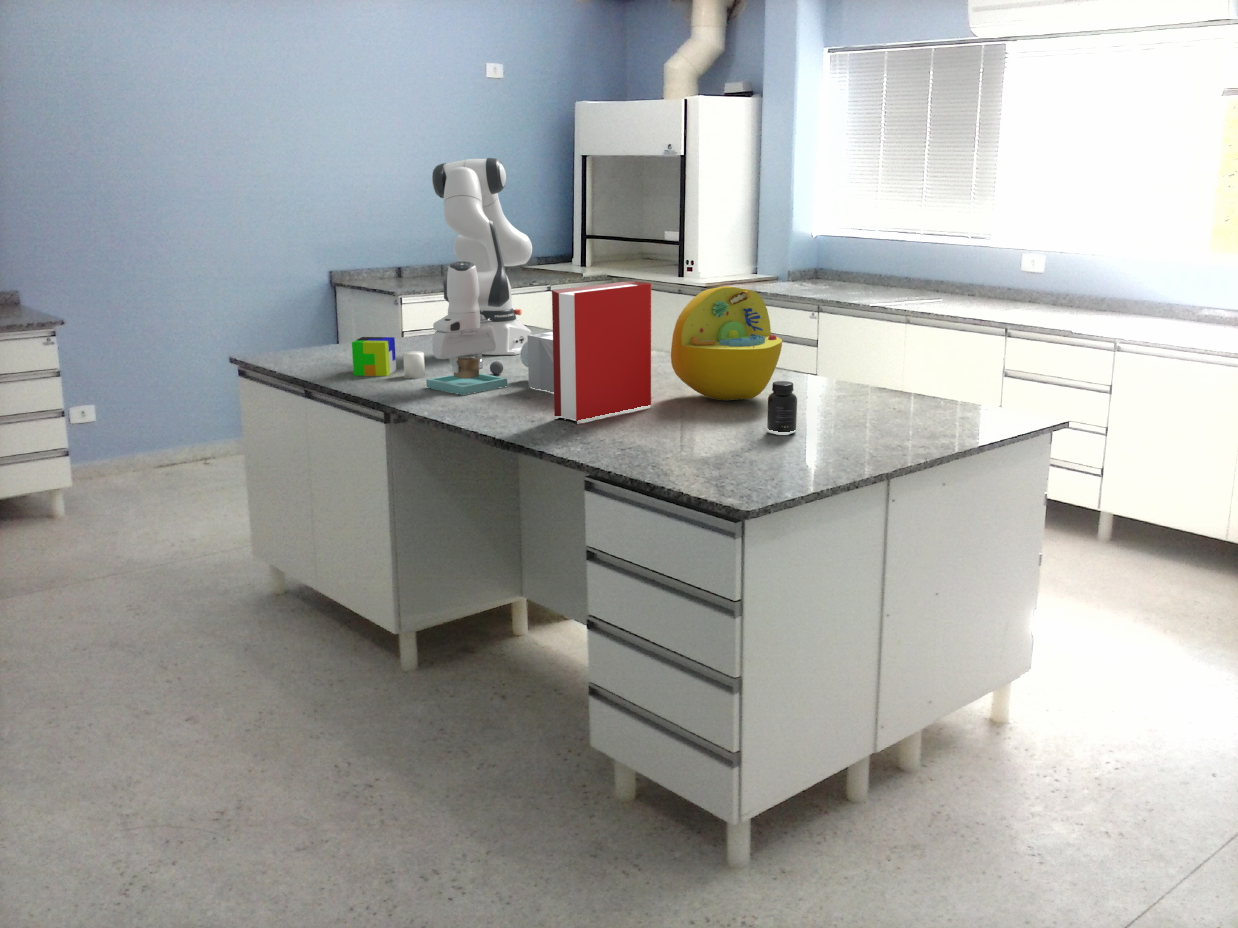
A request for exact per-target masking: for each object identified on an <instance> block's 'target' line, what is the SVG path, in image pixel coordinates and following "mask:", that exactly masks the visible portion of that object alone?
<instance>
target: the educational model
mask: <svg viewBox="0 0 1238 928" xmlns="http://www.w3.org/2000/svg"><path fill="white" fill-rule="evenodd" d="M671 339H672V340H671V348H670V363H671V367H672V370H673V372H674V373H675V375H676V376H677V377H678V379H680V380H681V381H682V382H683V383H684V385H687V387H689V388H691V389H692V390H694V391H695V392H696V393H698V394H699V395H702V396H704V398H705V397H706V398H708V399H713V400H716V399H717V400H716V401H724V400H729V401H737V400H736V399H744V400H750V399H754V398H756V397H758V396H759V395H761V393H762V392H763V391H764V390H765V389H766V387H767V386H768V384H769V383H770V381H771V379H772V377H773V374H774V372H775V370H776V367H777V365H778V361H779V359H780V355H781V352H782V346H783V339H782V338H781V337H778V336H777V335H775V334H772V329H771V321H770V316H769V311H768V308H767V306H766V303H765V301H764V299H763V298H762V296H761V295H760V294H759V293H758V292H756V291H754V290H751V289H747V288H743V287H742V288H741V287H735V286H730V285H729V286H727V285H726V286H724V285H723V286H720V287H719V286H718V287H714V288H709V289H705V290H703V291H700V292H699V293H698V294H696V295H695V296H694V297H693V298H692V299H691V300H690V301H688V303H687V304H686V306H684V308H683V309H682V311H681V312H680V313H679V315H678V317H677V319H676V322H675V325H674V329H673V333H672V338H671Z"/></svg>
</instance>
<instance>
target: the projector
mask: <svg viewBox="0 0 1238 928" xmlns="http://www.w3.org/2000/svg"><path fill="white" fill-rule="evenodd" d="M527 337H528V341H526V342H525V343H524V345H523V346H522V349H521V353H520V354H519V357H520V360H521V363H522V364H523V365H524V367H527V369H528V370H527V371H528V388H529V387H532V388H535V389H541V390H547V391H550V392H554V370H553V331H549V332H542V333H535V334H534V333H533V334H532V335H527Z"/></svg>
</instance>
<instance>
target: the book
mask: <svg viewBox="0 0 1238 928" xmlns="http://www.w3.org/2000/svg"><path fill="white" fill-rule="evenodd" d="M551 305H552V307H551V313H552V316H551V317H552V320H551V321H552V332H553V370H554V394H553V400H554V401H553V403H554V404H553V410H554V413H553V414H554V416H563V417H566V418H572V419H576V421H578V420H581V419H586V418H592V417H595V416H600V415H605V414H609V413H615V412H620V411H623V410H628V409H634V408H637V407H641V406H648V405H651V406H652V282H645V281H634V280H633V281H629V280H628V281H620V282H611V283H604V284H595V285H587V286H579V287H578V286H577V287H570V288H561V289H552V290H551Z"/></svg>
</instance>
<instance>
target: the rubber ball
mask: <svg viewBox="0 0 1238 928" xmlns="http://www.w3.org/2000/svg"><path fill="white" fill-rule="evenodd" d="M489 371H490V372H491V374H492V375H494V376H498V375H501V374H502V373H503V371H504V365H503V363H502V362H500V361H498V360H496V361H493V362H491V364H489Z"/></svg>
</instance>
